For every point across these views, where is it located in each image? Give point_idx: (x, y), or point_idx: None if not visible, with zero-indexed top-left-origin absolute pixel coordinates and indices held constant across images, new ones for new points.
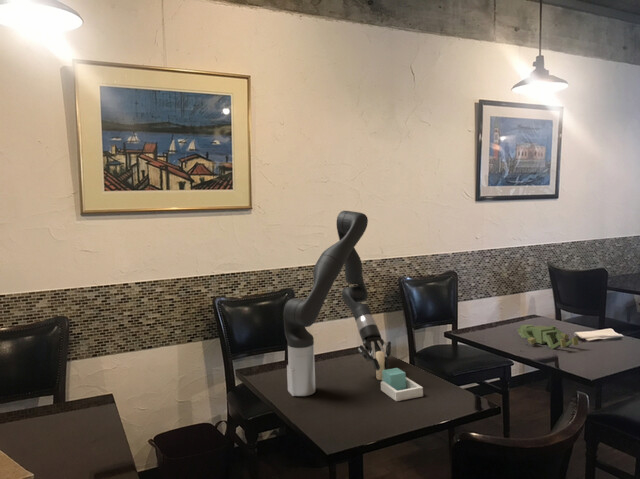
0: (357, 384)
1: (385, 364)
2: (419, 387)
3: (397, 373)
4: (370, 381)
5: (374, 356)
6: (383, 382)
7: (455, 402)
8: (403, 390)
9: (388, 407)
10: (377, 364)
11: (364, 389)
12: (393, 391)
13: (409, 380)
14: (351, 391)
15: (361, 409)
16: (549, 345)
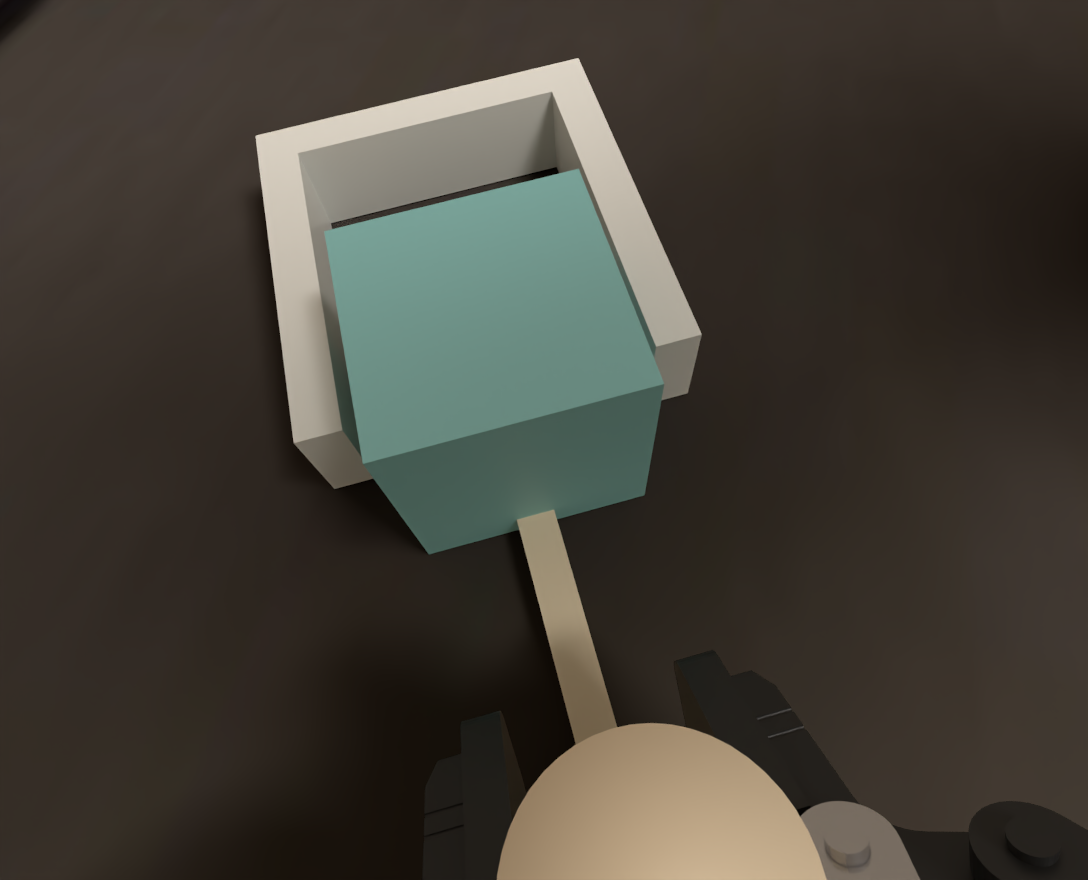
0: (1012, 626)
1: (519, 801)
2: (289, 139)
3: (452, 222)
4: (805, 719)
5: (846, 873)
6: (666, 306)
7: (102, 85)
8: (486, 91)
9: (673, 50)
10: (731, 693)
11: (897, 436)
12: (593, 101)
13: (306, 323)
14: (1069, 399)
15: (913, 36)
16: None
